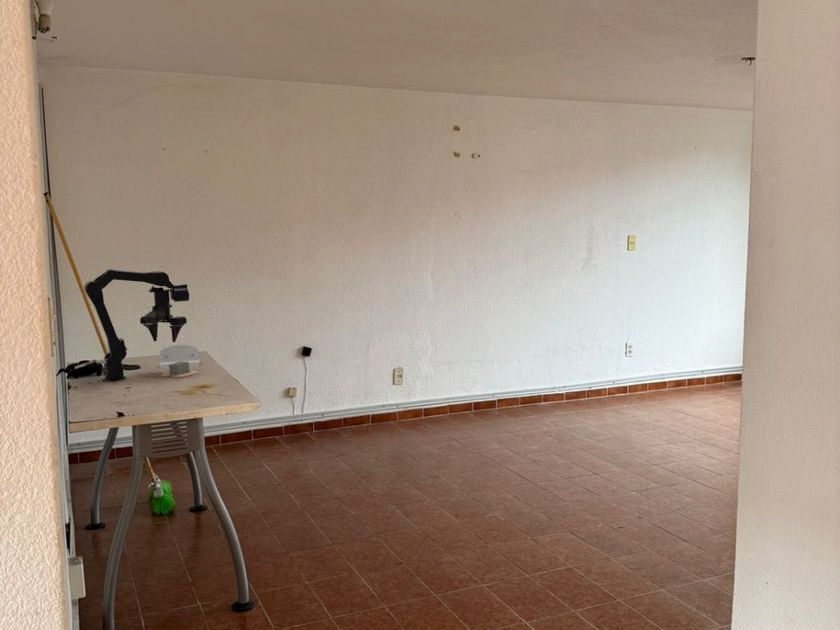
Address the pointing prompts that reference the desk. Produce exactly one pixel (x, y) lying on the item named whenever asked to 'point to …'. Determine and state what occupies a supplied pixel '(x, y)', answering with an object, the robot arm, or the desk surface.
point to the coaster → (181, 374)
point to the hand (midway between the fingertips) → (164, 341)
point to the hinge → (179, 355)
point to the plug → (179, 368)
